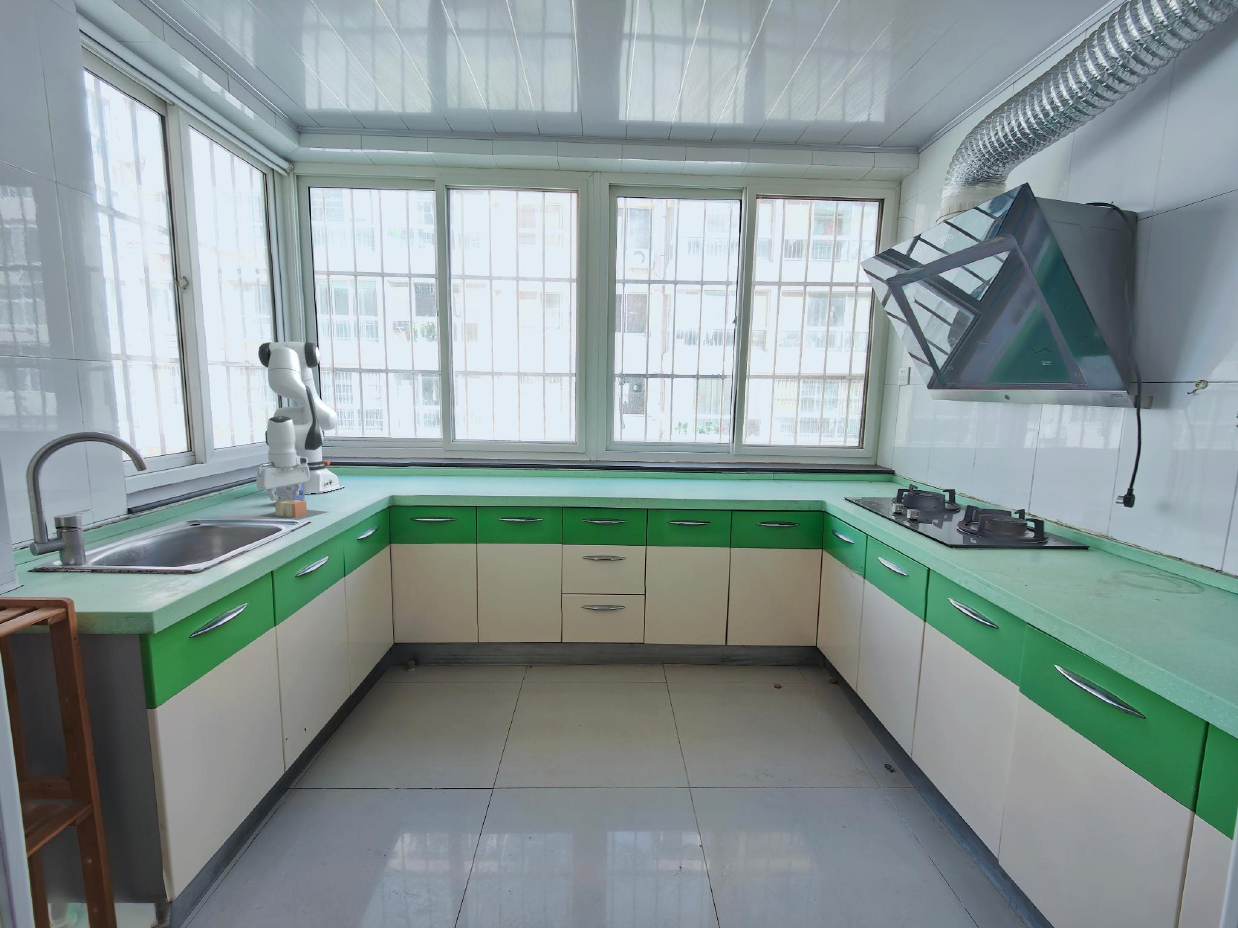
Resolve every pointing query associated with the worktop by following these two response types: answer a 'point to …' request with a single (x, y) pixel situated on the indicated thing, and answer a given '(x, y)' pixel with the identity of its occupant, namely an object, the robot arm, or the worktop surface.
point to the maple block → (290, 508)
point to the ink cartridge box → (290, 493)
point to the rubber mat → (309, 514)
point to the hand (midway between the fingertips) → (285, 497)
